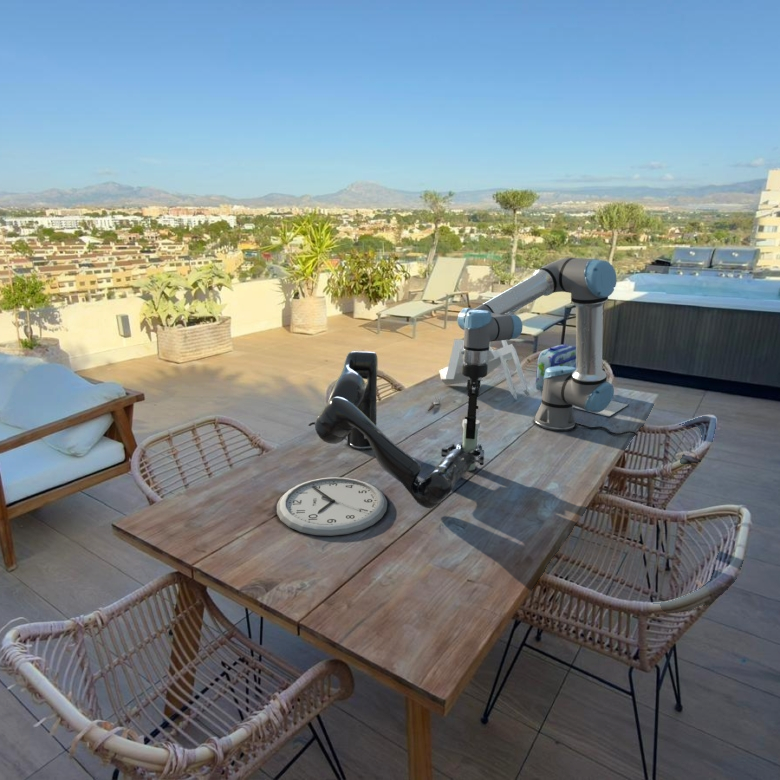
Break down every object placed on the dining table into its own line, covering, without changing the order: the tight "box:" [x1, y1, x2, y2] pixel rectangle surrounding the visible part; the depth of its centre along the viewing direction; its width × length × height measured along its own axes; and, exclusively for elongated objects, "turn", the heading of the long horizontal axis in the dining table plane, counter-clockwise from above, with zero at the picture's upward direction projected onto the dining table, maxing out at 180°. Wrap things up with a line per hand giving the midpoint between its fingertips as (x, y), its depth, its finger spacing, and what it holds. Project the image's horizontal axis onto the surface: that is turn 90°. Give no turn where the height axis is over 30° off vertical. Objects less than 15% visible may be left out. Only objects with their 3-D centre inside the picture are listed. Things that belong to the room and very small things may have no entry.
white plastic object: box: [438, 338, 531, 400], centre depth 245 cm, size 37×45×31 cm
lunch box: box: [535, 344, 576, 392], centre depth 247 cm, size 26×11×21 cm, turn 134°
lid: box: [462, 418, 481, 430], centre depth 162 cm, size 5×5×2 cm
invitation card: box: [573, 400, 629, 418], centre depth 226 cm, size 21×1×15 cm
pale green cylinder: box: [462, 427, 479, 472], centre depth 165 cm, size 4×4×15 cm
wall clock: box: [276, 476, 388, 537], centre depth 142 cm, size 30×2×30 cm
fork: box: [427, 396, 442, 412], centre depth 222 cm, size 3×16×2 cm, turn 160°
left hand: (471, 445), depth 167 cm, fingers closed on pale green cylinder, 4 cm apart
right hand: (470, 433), depth 163 cm, fingers open, 7 cm apart
